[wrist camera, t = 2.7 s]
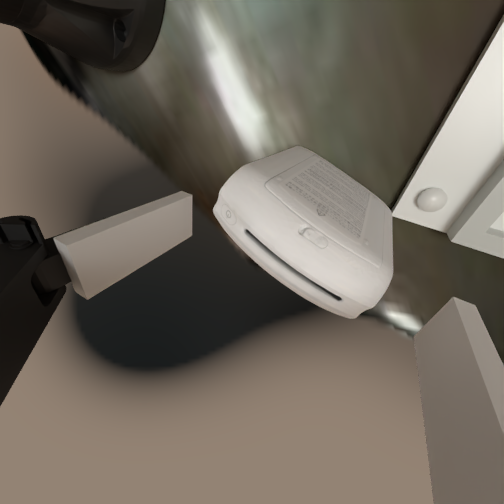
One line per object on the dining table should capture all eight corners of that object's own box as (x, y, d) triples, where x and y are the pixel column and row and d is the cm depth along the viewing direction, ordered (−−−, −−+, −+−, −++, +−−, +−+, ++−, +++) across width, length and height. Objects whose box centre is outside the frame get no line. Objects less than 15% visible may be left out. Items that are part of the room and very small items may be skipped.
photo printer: (272, 179, 22) (186, 231, 12) (297, 136, 19) (209, 160, 10) (361, 243, 21) (341, 353, 11) (401, 208, 18) (417, 314, 9)
